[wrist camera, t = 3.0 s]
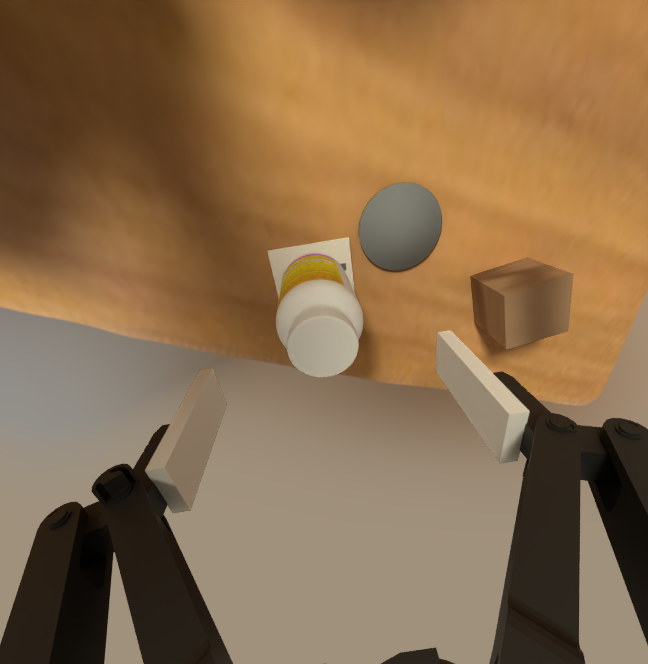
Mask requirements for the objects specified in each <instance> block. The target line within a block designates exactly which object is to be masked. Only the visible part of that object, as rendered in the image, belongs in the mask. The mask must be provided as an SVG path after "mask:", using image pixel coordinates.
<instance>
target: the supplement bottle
mask: <svg viewBox="0 0 648 664" xmlns="http://www.w3.org/2000/svg"><path fill="white" fill-rule="evenodd" d="M276 329H277V333H278V336H279V338H280V340H281V342H282V344H283V345H284V346H285V348H286V349H287V352H288V356H289V359H290V361H291V362H292V364H293V365H294V366H295V367H296V368H297V369H298V370H299V371H301V372H302V373H304V374H307V375H310V376H314V377H330V376H334V375H337V374H339V373H341V372H343V371H344V370H346V369H347V368H348V367H349V366H350V365H351V364H352V363H353V362H354V360H355V358H356V356H357V353H358V348H359V342H358V340H359V338H360V336H361V333H362V330H363V312H362V308H361V306H360V304H359V301H358V299H357V297H356V295H355V293H354V291H353V288H352V286H351V284H350V282H349V279H348V277H347V275H346V273H345V271H344V269H343V267H342V266H341V265H340V263H339V262H338V261H336V260H335V259H334V258H332V257H330V256H329V255H326V254H322V253H308V254H304V255H301V256H299V257H297V258H296V259H295V260H293V261H292V262H291V263H290V264H289V266H288V267H287V269H286V270H285V272H284V275H283V279H282V284H281V291H280V297H279V303H278V309H277V314H276Z"/></svg>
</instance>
